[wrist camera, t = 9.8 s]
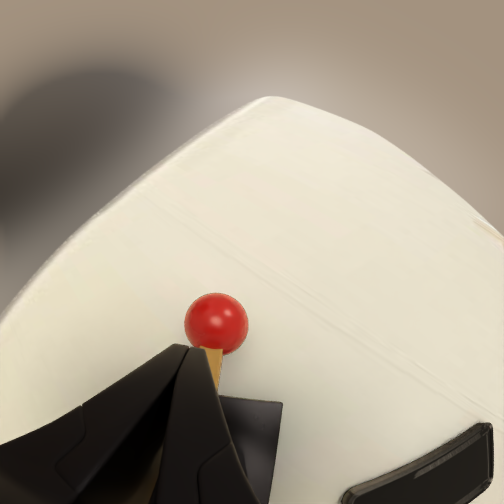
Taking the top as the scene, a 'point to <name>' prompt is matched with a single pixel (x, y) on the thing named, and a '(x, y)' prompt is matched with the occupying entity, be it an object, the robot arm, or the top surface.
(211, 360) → the lever
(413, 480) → the phone
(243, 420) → the bracket
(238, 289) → the top surface
